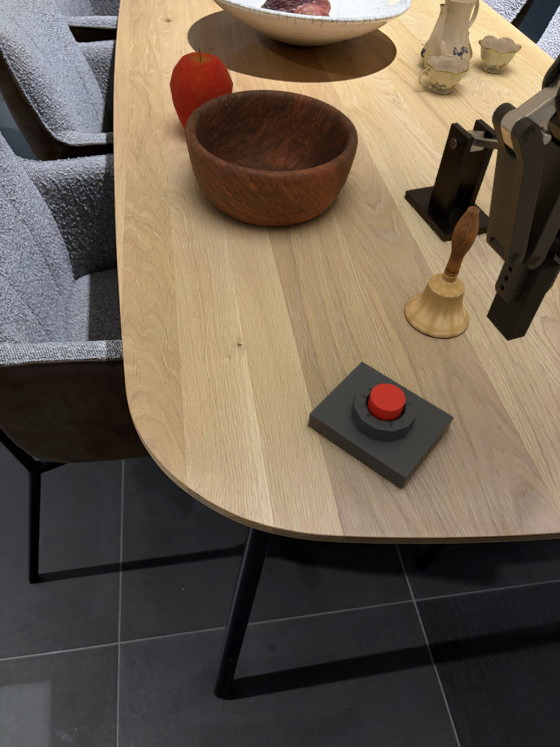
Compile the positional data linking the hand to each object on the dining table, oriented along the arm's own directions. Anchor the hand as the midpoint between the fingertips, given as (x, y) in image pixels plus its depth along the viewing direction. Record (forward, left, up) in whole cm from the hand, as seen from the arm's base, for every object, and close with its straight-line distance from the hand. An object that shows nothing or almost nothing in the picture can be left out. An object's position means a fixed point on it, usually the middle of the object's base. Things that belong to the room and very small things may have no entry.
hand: (505, 326), depth 44 cm
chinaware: (+46, -91, -23) cm, 104 cm away
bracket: (+22, -44, -23) cm, 54 cm away
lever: (+17, -41, -10) cm, 46 cm away
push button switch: (+8, -3, -23) cm, 24 cm away
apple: (+66, -36, -23) cm, 78 cm away
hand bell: (+12, -23, -23) cm, 34 cm away
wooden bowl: (+46, -30, -23) cm, 59 cm away
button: (+8, -3, -19) cm, 21 cm away
